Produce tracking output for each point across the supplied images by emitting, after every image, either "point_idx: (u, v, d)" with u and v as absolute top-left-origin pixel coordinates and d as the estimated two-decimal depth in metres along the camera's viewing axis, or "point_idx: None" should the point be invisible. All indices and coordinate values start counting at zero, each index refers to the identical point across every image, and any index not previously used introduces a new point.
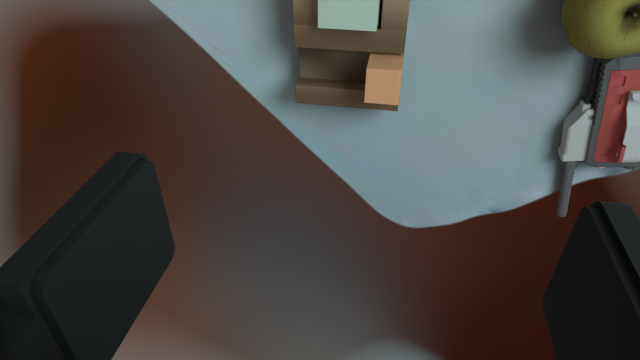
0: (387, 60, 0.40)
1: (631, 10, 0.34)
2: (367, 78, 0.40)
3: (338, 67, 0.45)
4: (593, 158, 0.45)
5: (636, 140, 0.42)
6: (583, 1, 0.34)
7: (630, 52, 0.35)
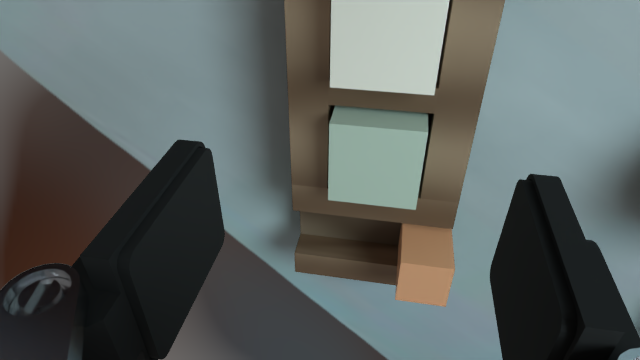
0: (429, 241, 0.28)
1: None
2: (401, 273, 0.27)
3: (355, 226, 0.32)
4: None
5: None
6: None
7: None
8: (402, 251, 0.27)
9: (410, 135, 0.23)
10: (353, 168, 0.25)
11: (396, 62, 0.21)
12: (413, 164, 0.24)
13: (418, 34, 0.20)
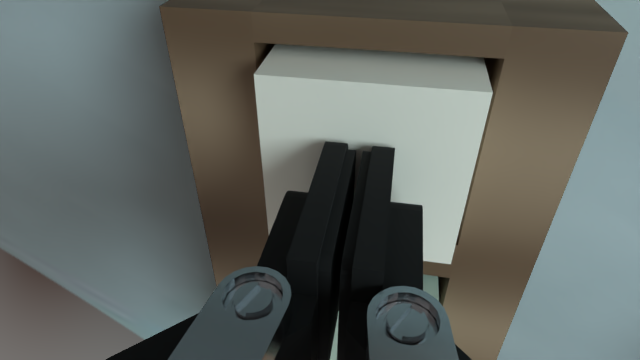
0: None
1: None
2: None
3: None
4: None
5: None
6: None
7: None
8: None
9: None
10: None
11: None
12: None
13: (423, 173, 0.11)
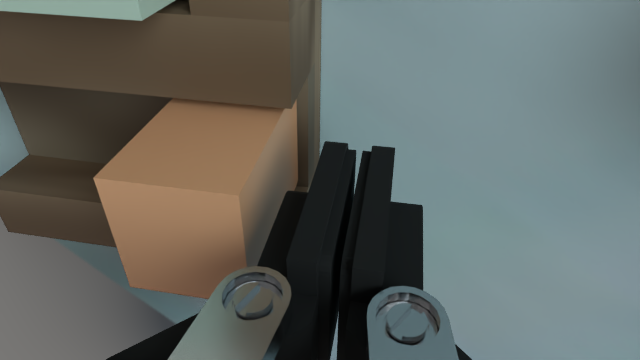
0: (210, 134, 0.10)
1: None
2: (111, 214, 0.10)
3: (123, 133, 0.15)
4: None
5: None
6: None
7: None
8: (120, 153, 0.10)
9: None
10: None
11: None
12: None
13: None
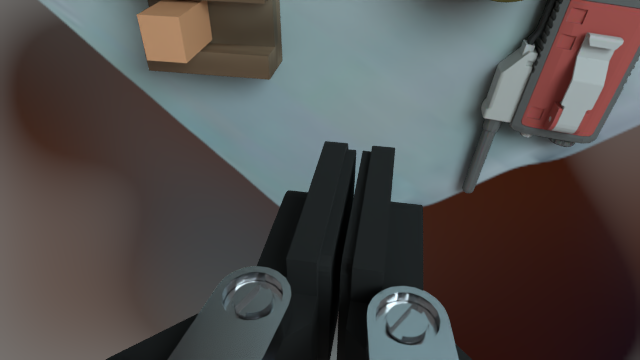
0: (172, 7, 0.32)
1: None
2: (141, 28, 0.32)
3: None
4: (521, 120, 0.35)
5: (578, 102, 0.32)
6: None
7: None
8: (144, 11, 0.32)
9: None
10: None
11: None
12: None
13: None
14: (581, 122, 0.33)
